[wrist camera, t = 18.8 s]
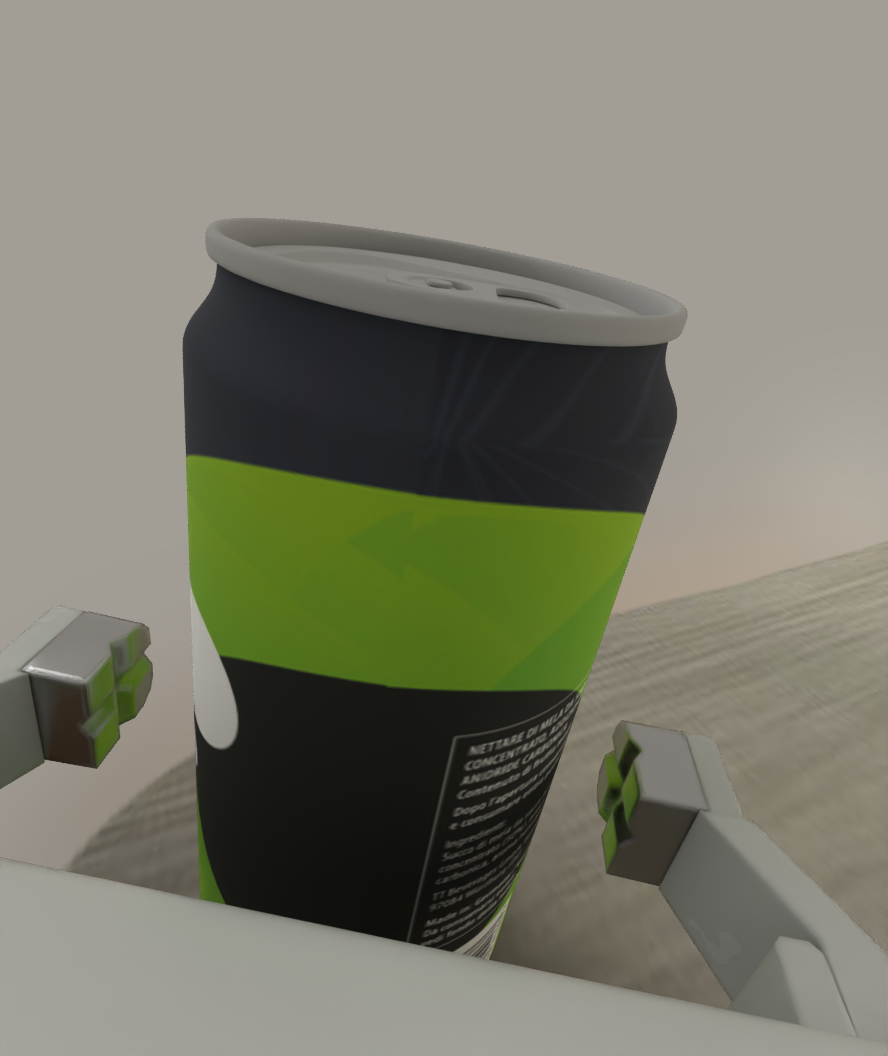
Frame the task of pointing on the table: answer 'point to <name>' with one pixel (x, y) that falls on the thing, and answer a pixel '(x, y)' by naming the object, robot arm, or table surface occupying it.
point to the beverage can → (402, 559)
